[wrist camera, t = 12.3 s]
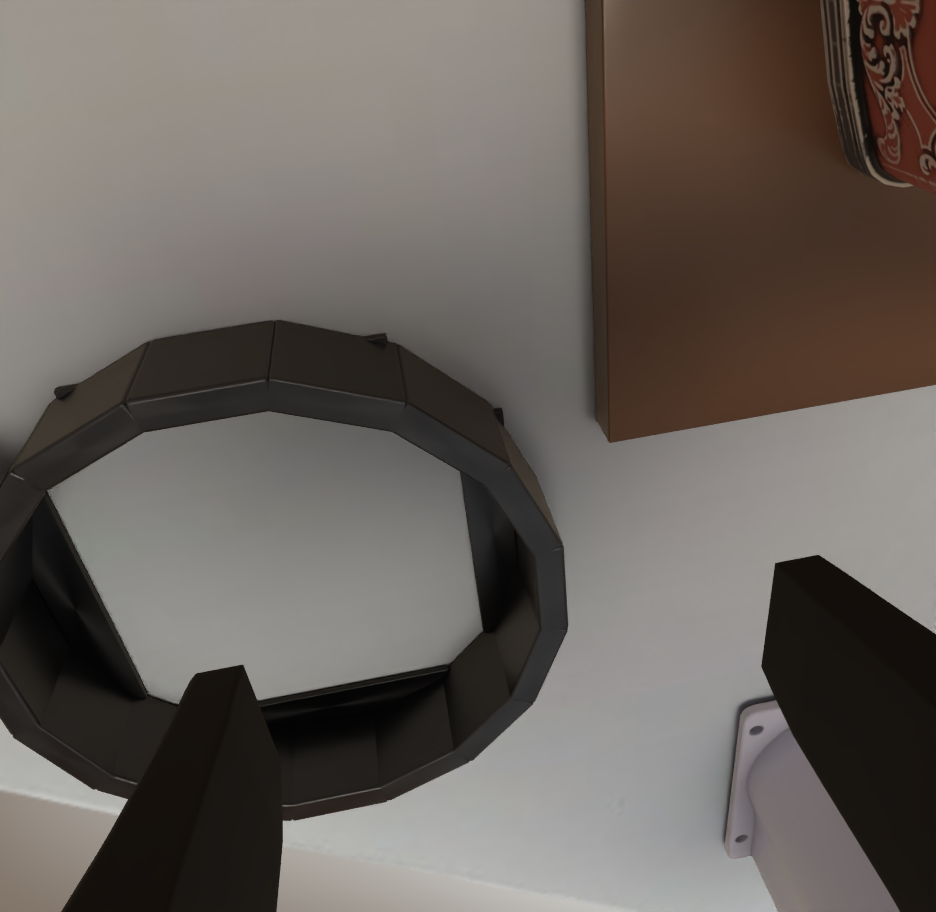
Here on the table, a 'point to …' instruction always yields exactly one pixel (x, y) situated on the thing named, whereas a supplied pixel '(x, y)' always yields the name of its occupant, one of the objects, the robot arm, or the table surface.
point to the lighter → (884, 86)
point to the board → (740, 224)
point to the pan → (308, 714)
